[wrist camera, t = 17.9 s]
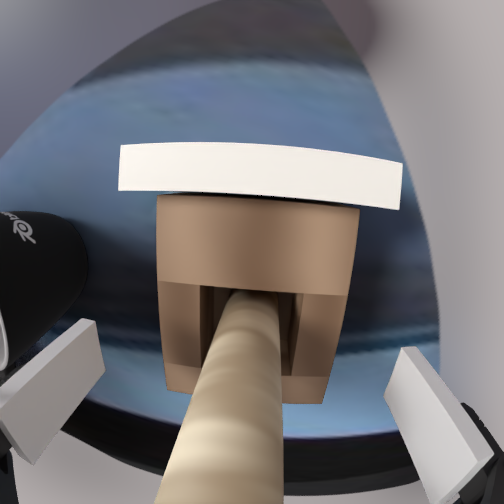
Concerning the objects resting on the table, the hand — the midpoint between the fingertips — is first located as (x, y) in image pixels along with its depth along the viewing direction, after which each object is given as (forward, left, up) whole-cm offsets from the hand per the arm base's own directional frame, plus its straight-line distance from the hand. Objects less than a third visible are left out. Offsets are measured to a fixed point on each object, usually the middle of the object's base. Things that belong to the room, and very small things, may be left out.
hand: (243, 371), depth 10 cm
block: (0, +1, -8) cm, 8 cm away
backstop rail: (0, +8, -8) cm, 11 cm away
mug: (-17, +2, -8) cm, 19 cm away
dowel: (0, 0, -7) cm, 7 cm away
